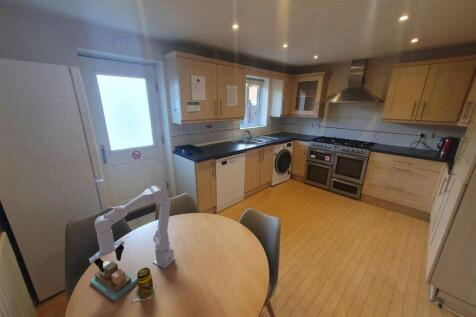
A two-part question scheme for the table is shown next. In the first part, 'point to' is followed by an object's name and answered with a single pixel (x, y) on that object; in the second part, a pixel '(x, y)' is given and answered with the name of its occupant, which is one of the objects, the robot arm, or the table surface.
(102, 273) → the block
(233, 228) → the table surface
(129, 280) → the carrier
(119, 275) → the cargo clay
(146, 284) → the condiment
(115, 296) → the dock
